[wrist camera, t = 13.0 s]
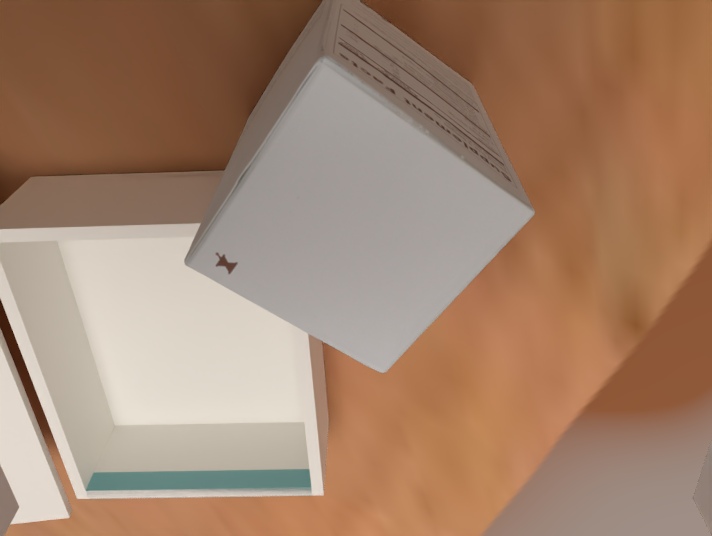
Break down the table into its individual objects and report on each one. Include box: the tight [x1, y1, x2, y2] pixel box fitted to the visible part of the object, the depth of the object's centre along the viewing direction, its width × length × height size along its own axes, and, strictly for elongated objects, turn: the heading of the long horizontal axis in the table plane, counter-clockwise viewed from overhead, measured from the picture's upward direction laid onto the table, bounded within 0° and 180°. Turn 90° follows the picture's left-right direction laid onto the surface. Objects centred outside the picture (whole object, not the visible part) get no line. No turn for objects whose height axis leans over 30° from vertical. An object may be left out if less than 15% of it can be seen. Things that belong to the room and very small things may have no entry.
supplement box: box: [184, 0, 535, 373], centre depth 24 cm, size 7×7×13 cm
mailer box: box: [0, 170, 329, 499], centre depth 33 cm, size 16×13×5 cm
